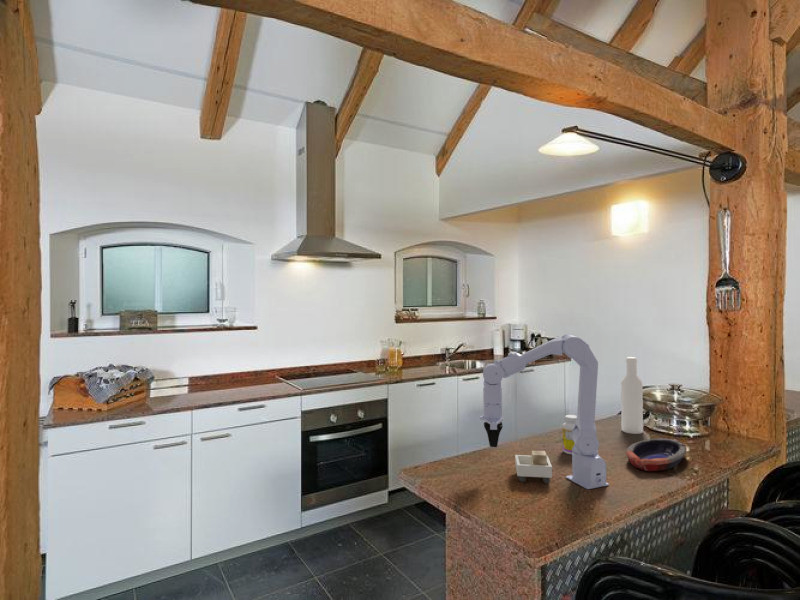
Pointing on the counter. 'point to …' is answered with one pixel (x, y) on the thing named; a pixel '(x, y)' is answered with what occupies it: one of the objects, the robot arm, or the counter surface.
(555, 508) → the counter surface
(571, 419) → the supplement bottle
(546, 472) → the white open storage bin
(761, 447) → the counter surface
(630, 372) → the bottle
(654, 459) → the dish
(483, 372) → the robot arm
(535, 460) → the block
